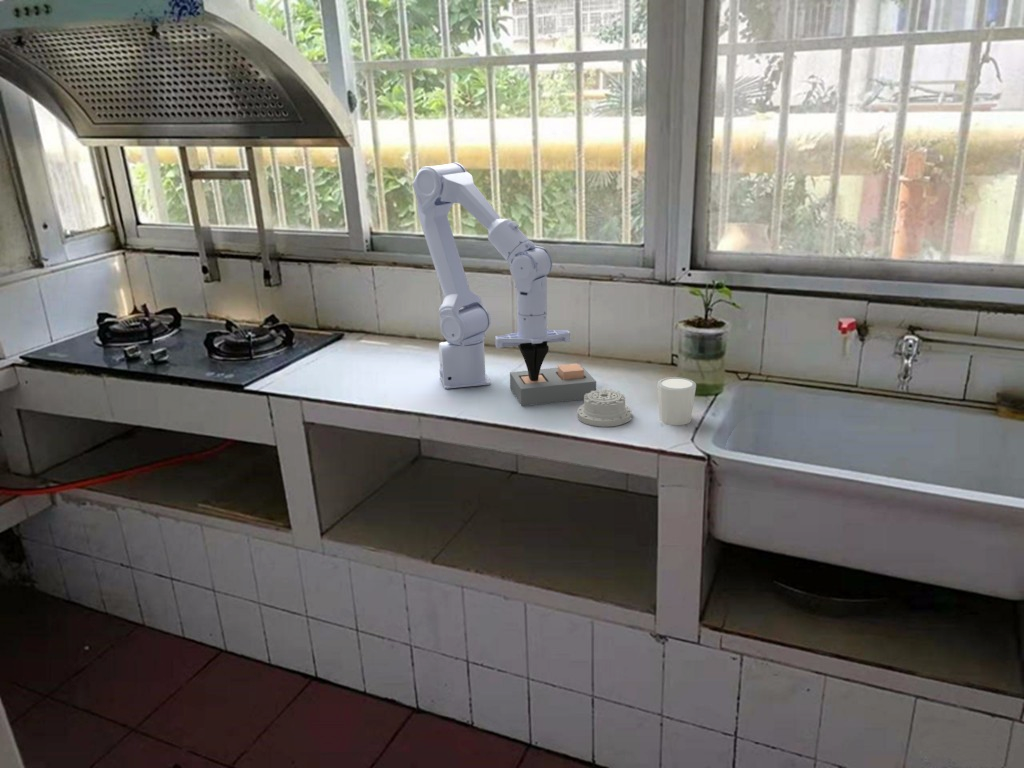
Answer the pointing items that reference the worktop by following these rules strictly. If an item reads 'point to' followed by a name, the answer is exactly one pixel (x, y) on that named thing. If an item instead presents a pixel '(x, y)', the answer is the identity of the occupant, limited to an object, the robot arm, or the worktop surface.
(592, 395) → the mechanical component
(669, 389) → the white cup
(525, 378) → the button
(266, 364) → the worktop surface
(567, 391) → the switch block
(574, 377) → the button
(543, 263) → the robot arm
